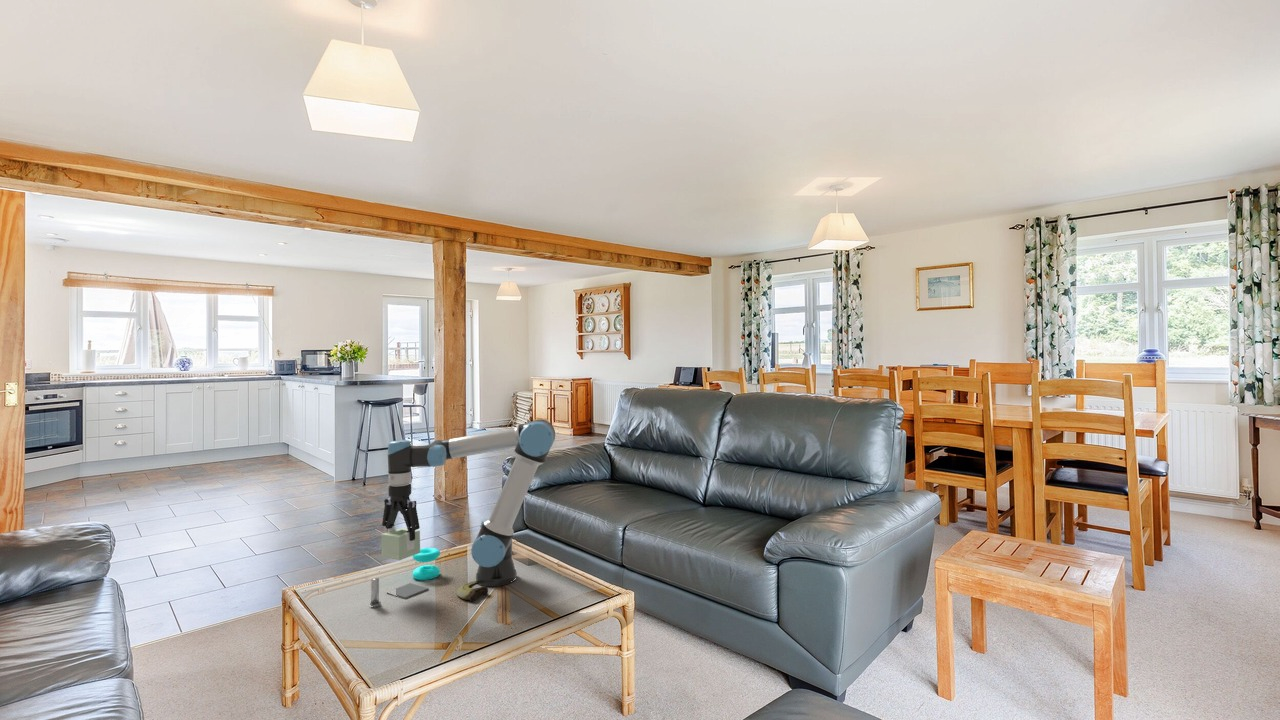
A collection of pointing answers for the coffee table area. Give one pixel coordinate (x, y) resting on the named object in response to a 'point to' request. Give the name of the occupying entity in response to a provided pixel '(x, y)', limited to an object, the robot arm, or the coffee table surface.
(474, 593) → the claw
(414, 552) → the sage cube with slot
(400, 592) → the mat
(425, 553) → the donuts
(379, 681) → the coffee table surface
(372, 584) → the post stand
